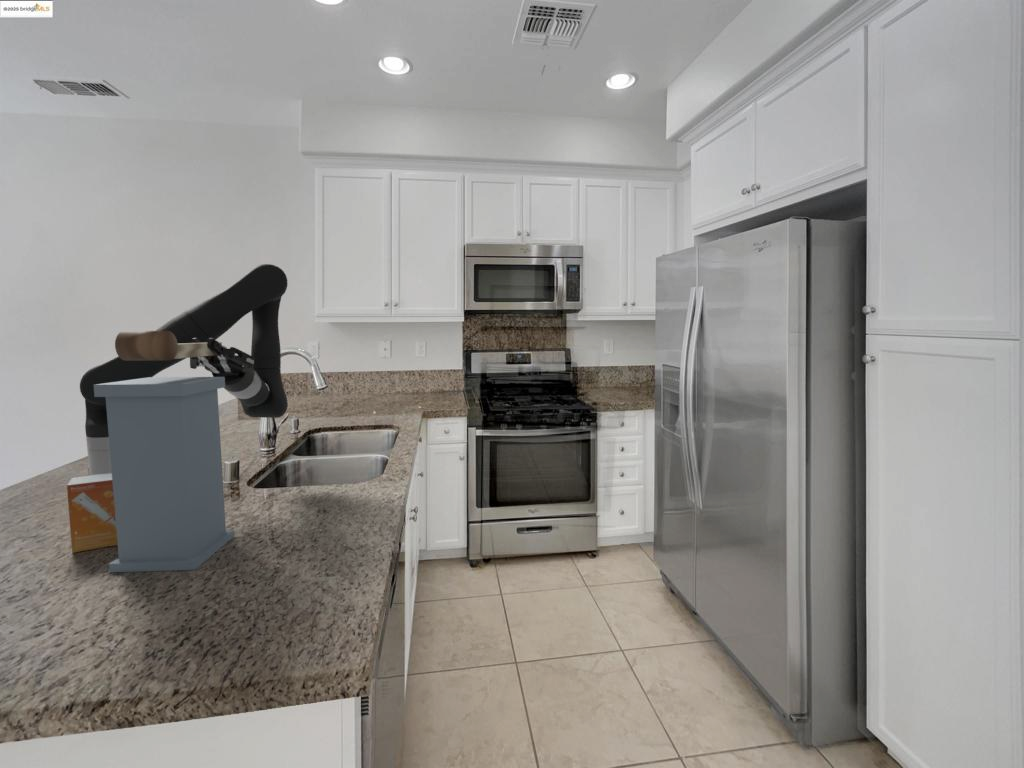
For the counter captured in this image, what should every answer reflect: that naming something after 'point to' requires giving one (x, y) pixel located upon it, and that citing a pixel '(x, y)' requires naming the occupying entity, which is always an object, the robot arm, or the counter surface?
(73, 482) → the small box
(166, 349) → the mallet
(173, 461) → the stand
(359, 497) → the counter surface
